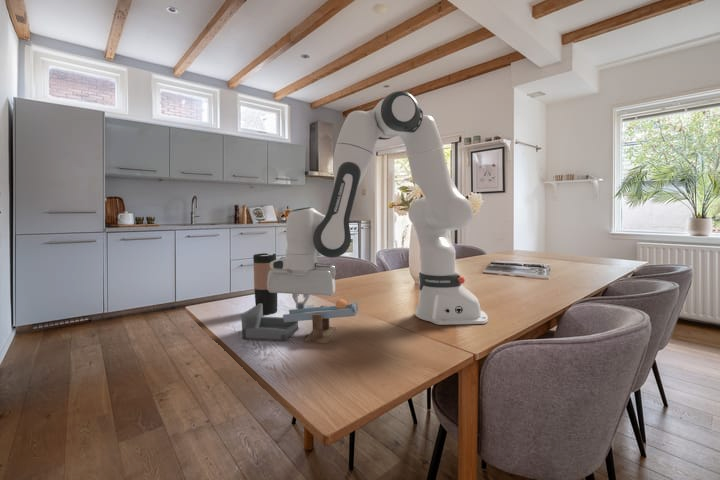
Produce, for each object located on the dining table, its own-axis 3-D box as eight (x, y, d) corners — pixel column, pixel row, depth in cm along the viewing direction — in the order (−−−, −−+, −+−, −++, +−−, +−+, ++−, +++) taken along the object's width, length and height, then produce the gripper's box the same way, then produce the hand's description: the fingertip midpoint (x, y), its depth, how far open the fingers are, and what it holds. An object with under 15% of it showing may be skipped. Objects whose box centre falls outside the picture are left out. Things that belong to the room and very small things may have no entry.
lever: (361, 303, 104) (360, 294, 104) (355, 316, 92) (353, 305, 92) (298, 309, 107) (297, 300, 107) (283, 322, 95) (282, 312, 95)
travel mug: (257, 316, 115) (255, 256, 113) (253, 310, 122) (251, 254, 120) (280, 313, 119) (278, 254, 117) (275, 307, 125) (273, 252, 124)
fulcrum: (336, 329, 101) (335, 305, 101) (327, 343, 91) (326, 316, 90) (316, 328, 102) (315, 304, 102) (305, 342, 92) (304, 315, 91)
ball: (349, 300, 96) (339, 296, 97) (347, 303, 93) (336, 299, 93) (346, 310, 97) (335, 306, 97) (344, 314, 93) (333, 310, 94)
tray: (298, 327, 103) (297, 304, 103) (284, 341, 93) (283, 315, 92) (260, 326, 105) (259, 303, 105) (242, 339, 94) (241, 314, 94)
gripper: (338, 262, 104) (337, 307, 105) (273, 259, 107) (273, 303, 108) (333, 265, 98) (332, 313, 99) (264, 262, 101) (264, 309, 102)
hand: (301, 308), depth 104 cm, fingers closed
